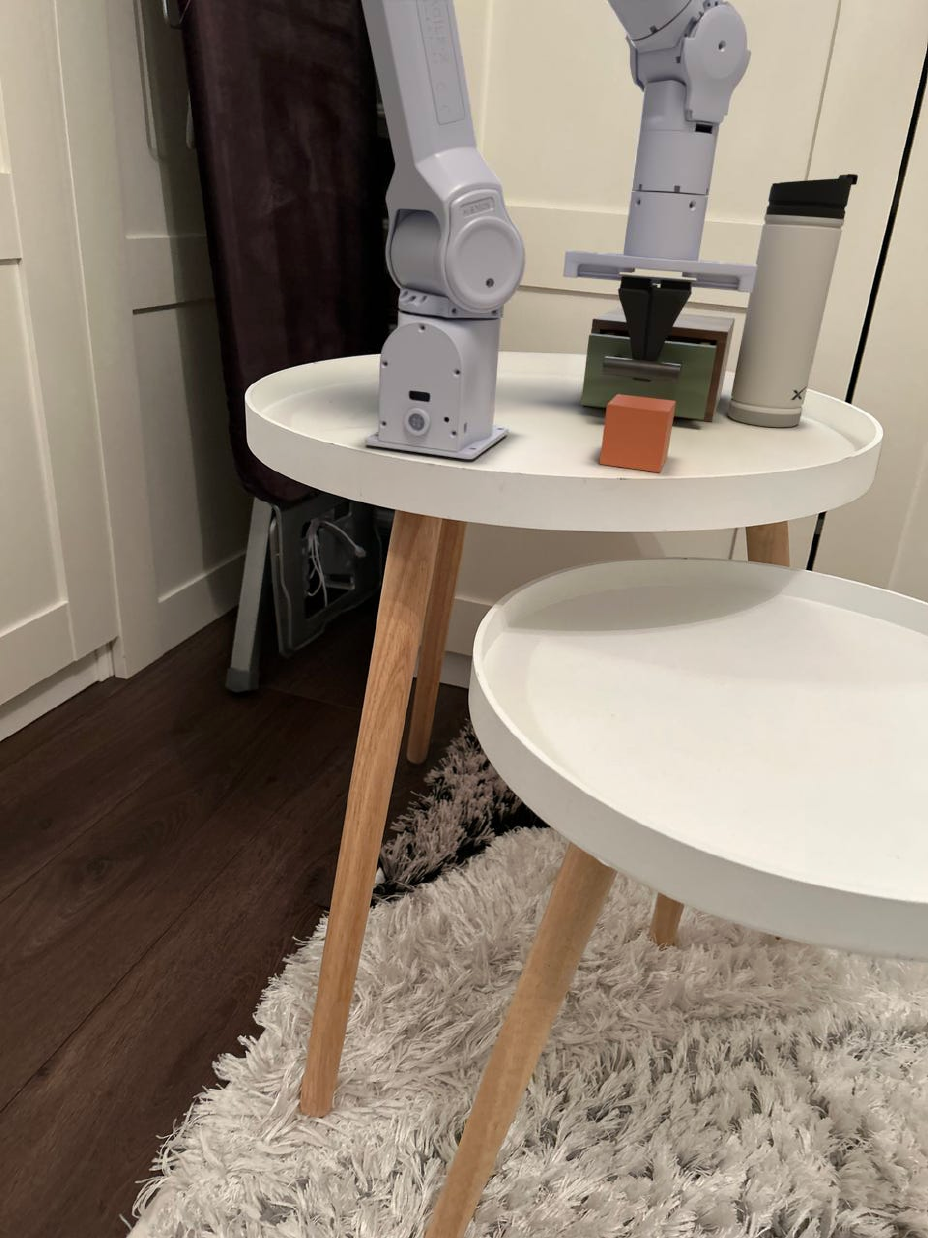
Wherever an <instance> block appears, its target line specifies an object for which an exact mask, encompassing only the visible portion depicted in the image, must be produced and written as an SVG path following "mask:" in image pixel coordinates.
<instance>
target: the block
mask: <svg viewBox="0 0 928 1238" xmlns="http://www.w3.org/2000/svg"><path fill="white" fill-rule="evenodd" d="M675 404H676V401H671V400H663V399H655V398H646V397H638V396H629V395H621V394H617V395H616V396H615V397H614V398H613V399H612V400H611V401H610V402H609V403H608V404H607V409H606V411H605V419H604V427H603V434H602V442H601V450H600V457H599V465H602V466H610V467H617V468H623V469H632V470H639V471H645V472H651V473H661V471H662V469H663V467H664V465H665V463H666V461H667V458H668V454H669V446H670V441H671V435H672V428H673V424H674V423H673V422H674V418H675V417H674V410H675Z"/></svg>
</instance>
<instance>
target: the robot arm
mask: <svg viewBox="0 0 928 1238" xmlns="http://www.w3.org/2000/svg"><path fill="white" fill-rule="evenodd" d="M360 1H361V6H362V10H363V16H364V19H365V24H366V29H367V34H368V38H369V44H370V47H371V49H370V50H371V53H372V58H373V62H374V68H375V72H376V77H377V81H378V87H379V91H380V95H381V96H380V97H381V101H382V106H383V111H384V114H385V115H384V116H385V120H386V125H387V130H388V135H389V140H390V144H391V151H392V154H393V159H394V164H395V165H394V171H393V174H392V177H391V179H390V181H389V182H390V183H389V185H388V188H387V190H386V194H385V203H386V207H387V211H388V233H387V237H386V244H385V262H386V266H387V270H388V273H389V276H390V277H391V279H392V281H393V282H394V283H395V285H396V286H397V287H398V288H399V290H400V291H399V292H400V293H399V296H398V304H397V305H398V306H397V308H399V310H397V313H398V314H397V328H396V329H394V330H393V331H392V332H391V333H390V334H389V336H388V337H387V339H386V340H385V342H384V344H383V346H382V348H381V352H380V356H379V371H378V372H379V375H378V378H379V379H378V381H379V382H378V384H379V385H378V422H377V423H378V425H377V426H378V429H377V430H378V431H377V432H375V433H373V434H371V435H369V436H367V437H366V438H365V444H366V445H367V446H372V447H373V446H374V447H380V448H386V449H393V450H400V451H407V452H415V453H422V454H428V455H435V456H443V457H448V458H456V459H462V460H473V459H475V458H477V457H478V456H479V455H481V454H482V453H483V452H485V451H486V450H487V449H489V448H490V447H492V446H493V445H494V444H496V443H497V442H499V441H500V440H501V439H502V438H505V436H507V435H508V434H509V427H507V426H502V425H494V416H495V404H496V389H497V378H498V377H497V376H498V365H499V364H498V363H499V351H500V338H501V323H502V319H503V318H504V312H505V311H504V310H505V305H506V304H507V303H508V302H509V301H510V300H511V299H512V298H513V296H514V295H515V294H516V292H517V291H518V289H519V287H520V286H521V282H522V280H523V277H524V273H525V268H526V249H525V248H526V247H525V243H524V239H523V237H522V234H521V232H520V230H519V228H518V227H517V225H516V223H515V222H514V221H513V219H512V218H511V216H510V214H509V211H508V209H507V205H506V202H505V201H506V200H505V196H504V190H503V185H502V183H501V181H500V179H499V177H498V176H497V175H496V174H495V172H494V171H493V169H492V168H491V166H490V165H489V164H488V162H487V161H486V160H485V158H484V156H483V155H482V154H481V152H480V150H479V149H478V148H479V147H478V143H477V137H476V131H475V125H474V117H473V112H472V106H471V100H470V94H469V88H468V81H467V75H466V68H465V64H464V63H465V62H464V57H463V51H462V45H461V44H462V43H461V38H460V32H459V27H458V26H459V25H458V20H457V19H458V18H457V15H456V14H457V13H456V8H455V1H454V0H360ZM605 1H606V3H607V4H608V6H609V7H610V9H611V11H612V13H613V14H614V16H615V17H616V19H617V21H618V22H619V24H620V26H621V27H622V29H623V31H624V33H625V34H626V37H624V38H625V41H626V43H627V44H628V46H629V67H630V75H631V77H632V82H633V83H634V85H635V86H636V87H638V88H639V89H640V91H641V92H642V93H643V97H642V103H641V112H640V113H641V114H640V120H639V129H638V137H637V145H636V152H635V160H634V168H633V176H632V184H631V192H630V196H629V197H630V198H629V206H628V214H627V222H626V230H625V237H624V245H623V253H613V252H598V251H584V250H573V249H572V250H566V251H565V255H564V265H563V274H562V276H563V278H572V279H573V278H575V279H577V278H581V279H583V278H584V279H591V280H592V279H595V280H605V281H616V282H617V281H618V282H620V285H619V288H618V289H617V293H618V294H617V295H618V298H619V302H620V304H621V308H623V311H624V315H625V318H626V322H627V326H628V331H629V336H630V341H631V348H632V358H633V359H635V360H644V361H653V362H657V361H658V358H659V355H660V353H661V350H662V348H663V345H664V343H665V341H666V339H667V337H668V335H669V333H670V331H671V329H672V327H673V325H674V323H675V321H676V319H677V317H678V316H679V314H680V313H682V311H683V309H684V307H685V306H686V304H687V302H688V301H689V299H690V298H691V295H692V294H693V292H692V290H693V288H698V289H699V288H700V289H710V290H721V291H734V292H737V293H738V292H739V293H749V294H750V293H752V292H753V288H754V283H755V277H756V272H757V267H758V265H756V264H751V263H750V264H749V263H739V262H728V261H717V260H704V259H699V256H700V250H701V243H702V238H703V231H704V225H705V221H706V220H705V219H706V213H707V209H708V208H707V206H708V200H709V196H710V189H711V183H712V178H713V170H714V164H715V159H716V153H717V146H718V139H719V134H720V127H721V123H723V122H724V120H725V116H728V114H729V113H728V112H729V109H730V108H729V107H730V101H731V99H732V98H731V97H732V95H733V94H734V93H733V92H734V91H735V89H736V88H737V87H738V85H740V83H741V81H742V79H743V77H744V76H745V74H746V72H747V69H748V67H749V64H750V62H751V61H750V60H751V56H752V51H751V50H750V49H748V34H747V28H746V24H745V21H744V19H743V17H742V16H741V14H740V13H739V12H738V10H737V9H736V8H735V7H734V6H733V5H732V3H730V1H724V0H605ZM636 270H646V271H660V272H661V271H662V272H674V273H676V272H677V273H681V277H682V278H675V277H661V276H652V275H651V276H650V275H638V274H632V273H635V272H636ZM626 273H627V274H626ZM629 273H630V274H629ZM658 286H659V287H658ZM650 325H651V326H650ZM649 331H650V334H649ZM648 340H649V341H648ZM633 380H636V381H645V382H650V381H651V380H647V379H638V378H633Z"/></svg>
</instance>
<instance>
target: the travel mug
mask: <svg viewBox="0 0 928 1238" xmlns="http://www.w3.org/2000/svg"><path fill="white" fill-rule="evenodd" d="M858 179H859V176H858V174H856V173H854V174H853V173H847V174H840V175H839V176H838V177H837V178H823V179H809V180H795V181H794V180H793V181H782V182H773V183H772V184H771V186H770V190H769V194H768V205H767V207H766V209H765V214H764V217H763V221H764V224H763V225H762V228H761V233H760V237H759V238H760V239H759V244H758V250H757V255H756V260H755V265H758V267H757V272H756V277H755V283H754V288H753V292H752V293H749V297H748V303H747V309H746V313H745V319H744V324H743V330H742V336H741V340H740V346H739V351H738V357H737V361H736V367H735V373H734V377H733V383H732V390H731V394H730V395H731V398H730V399H729V404H728V410H727V416H728V417H729V418H730V419H732V420H733V421H736V422H740V423H742V424H748V425H754V426H758V427H768V428H791V427H796V426H798V424H799V423H800V422H801V417H802V413H803V406H802V405H804V403H805V399H806V395H807V390H808V385H809V382H810V377H811V374H812V368H813V364H814V359H815V356H816V355H815V354H816V349H817V345H818V340H819V337H820V331H821V326H822V324H823V323H822V322H823V319H824V313H825V309H826V305H827V300H828V296H829V292H830V288H831V287H830V286H831V282H832V277H833V273H834V268H835V264H836V259H837V255H838V252H839V251H838V250H839V246H840V242H841V238H842V232H843V229H842V227H843V226H844V225H845V224H844V223H845V216H846V207H847V206H848V202H849V197H850V193H851V189H852V186H856V185H857V183H858Z"/></svg>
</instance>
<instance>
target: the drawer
mask: <svg viewBox="0 0 928 1238" xmlns="http://www.w3.org/2000/svg"><path fill="white" fill-rule="evenodd" d="M648 341H649V340H648ZM714 344H715V340H707V339H697V338H687V337H677V336H668V337H667V339H666V341H665V343H664V345H663V348H662V350H661V353H660V355H659V358H658V361H657V362H653V361H644V360H635V359H633V358H632V348H631V341H630V336H629V332H627V331H617V330H611V331H609V332H607V333H606V334H604V335H602V334H591V333H590V334H589V335H588V339H587V350H586V355H585V357H586V358H585V364H584V365H585V366H584V375H583V383H582V391H581V399H580V405H582V406H583V405H588V406H597V407H605V408H607V404H608V403H609V402H610V401H611V400H612V399H613V398H614V397H615V396H616V395H617V394H621V395H629V396H638V397H646V398H655V399H663V400H671V401H676V404H675V410H674V416H678V417H686V418H694V419H702V420H703V419H704V417H705V411H706V405H707V400H708V394H709V388H710V383H711V377H712V371H713V366H714V360H715V354H716V348H717V346H714ZM633 378H638V379H647V380H651V381H650V382H645V381H636V380H633ZM588 406H587V407H588Z"/></svg>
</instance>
